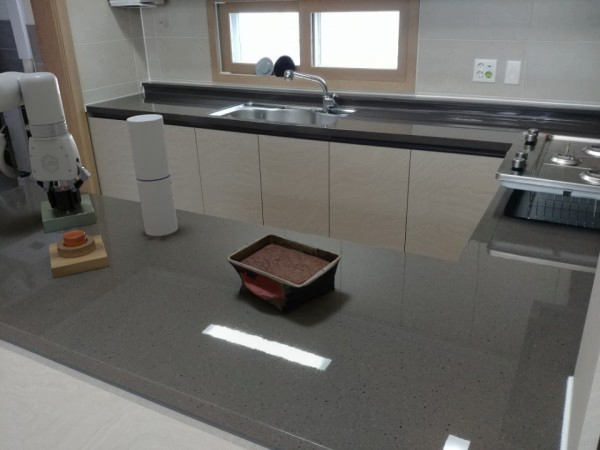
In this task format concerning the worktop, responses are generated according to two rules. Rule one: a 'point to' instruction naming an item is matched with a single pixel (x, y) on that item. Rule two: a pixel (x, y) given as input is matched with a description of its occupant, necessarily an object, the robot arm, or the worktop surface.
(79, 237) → the button
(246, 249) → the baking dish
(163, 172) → the cylindrical container
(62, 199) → the knob
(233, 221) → the worktop surface
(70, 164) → the robot arm
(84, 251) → the button block
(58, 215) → the panel
